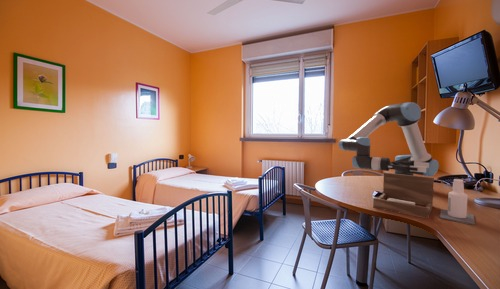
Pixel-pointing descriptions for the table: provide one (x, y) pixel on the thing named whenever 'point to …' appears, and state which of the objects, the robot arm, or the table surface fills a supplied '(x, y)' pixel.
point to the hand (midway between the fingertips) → (427, 167)
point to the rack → (406, 194)
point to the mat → (467, 220)
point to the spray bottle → (457, 200)
